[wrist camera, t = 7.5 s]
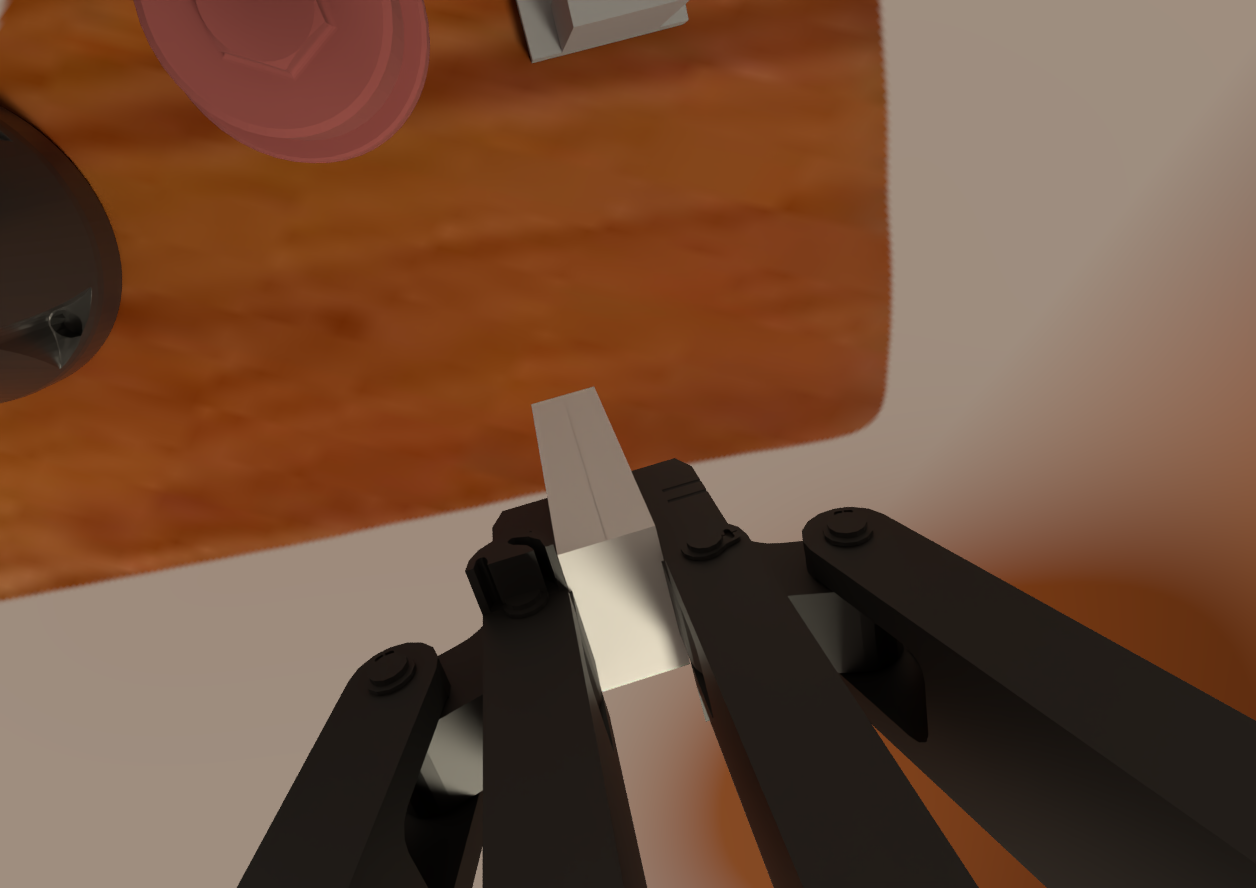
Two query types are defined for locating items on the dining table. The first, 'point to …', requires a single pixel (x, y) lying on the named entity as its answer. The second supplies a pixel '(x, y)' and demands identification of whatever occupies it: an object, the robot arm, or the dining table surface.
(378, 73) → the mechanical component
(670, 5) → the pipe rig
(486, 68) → the dining table surface
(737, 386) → the dining table surface
